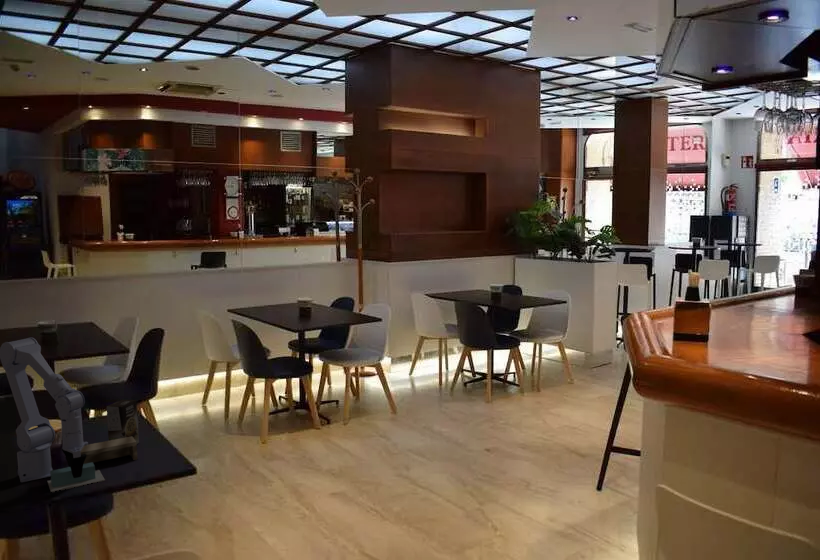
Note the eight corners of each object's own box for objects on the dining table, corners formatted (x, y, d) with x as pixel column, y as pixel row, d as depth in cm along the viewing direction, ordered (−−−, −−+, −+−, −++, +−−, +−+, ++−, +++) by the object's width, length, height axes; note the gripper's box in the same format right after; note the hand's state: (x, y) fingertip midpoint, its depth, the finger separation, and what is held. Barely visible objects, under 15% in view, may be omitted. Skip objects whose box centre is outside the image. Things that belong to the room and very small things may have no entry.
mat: (51, 492, 206) (51, 491, 206) (47, 482, 214) (47, 480, 214) (104, 480, 214) (104, 479, 214) (99, 471, 223) (99, 469, 223)
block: (95, 478, 215) (94, 465, 215) (52, 487, 209) (51, 474, 209) (93, 474, 219) (92, 462, 218) (51, 483, 212) (50, 470, 212)
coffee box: (124, 451, 240) (121, 406, 239) (108, 450, 242) (105, 406, 240) (140, 442, 249) (137, 399, 248) (124, 442, 251) (121, 398, 249)
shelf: (72, 473, 221) (70, 454, 221) (69, 466, 227) (67, 448, 227) (137, 459, 232) (136, 441, 232) (133, 453, 238) (131, 436, 237)
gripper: (90, 434, 209) (93, 477, 210) (82, 422, 221) (85, 463, 222) (64, 439, 205) (67, 483, 206) (58, 427, 217) (61, 468, 218)
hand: (75, 473), depth 214 cm, fingers open, 7 cm apart
